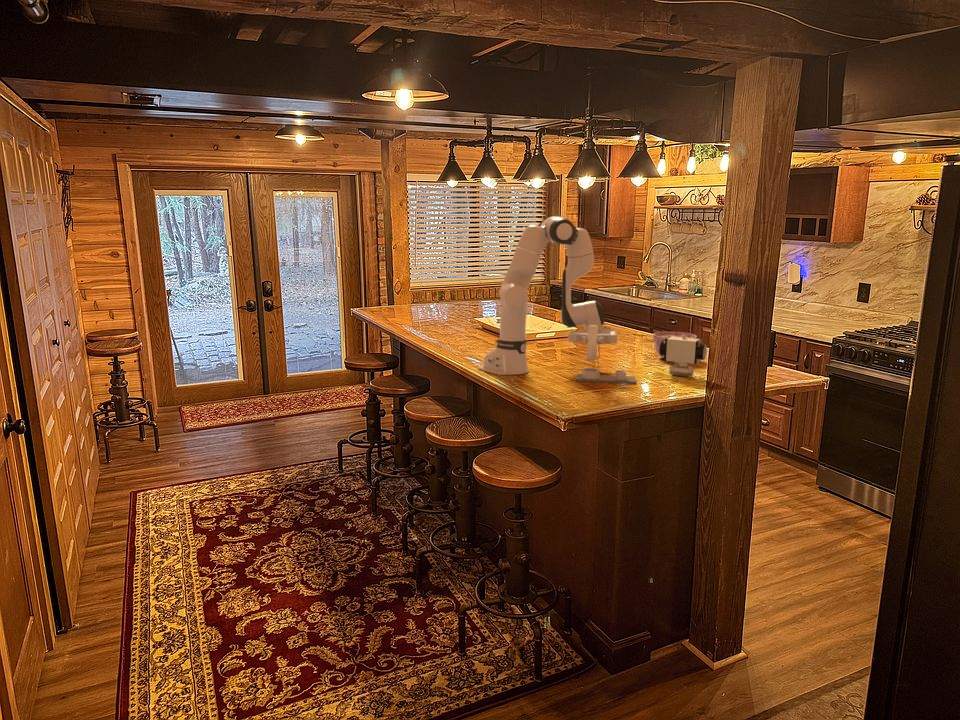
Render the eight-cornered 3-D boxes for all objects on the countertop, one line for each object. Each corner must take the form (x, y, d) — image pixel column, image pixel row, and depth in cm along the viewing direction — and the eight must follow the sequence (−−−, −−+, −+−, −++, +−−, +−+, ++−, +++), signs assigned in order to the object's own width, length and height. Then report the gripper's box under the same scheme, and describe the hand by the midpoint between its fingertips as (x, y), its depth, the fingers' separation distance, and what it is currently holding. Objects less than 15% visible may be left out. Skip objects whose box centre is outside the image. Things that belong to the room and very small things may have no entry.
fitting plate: (575, 381, 271) (576, 371, 270) (576, 376, 280) (577, 367, 279) (635, 384, 267) (636, 374, 266) (634, 378, 276) (635, 369, 275)
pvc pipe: (585, 359, 273) (586, 326, 270) (589, 358, 276) (591, 324, 273) (593, 360, 270) (594, 327, 267) (598, 359, 273) (599, 325, 270)
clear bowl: (643, 358, 316) (644, 334, 313) (664, 352, 329) (666, 330, 327) (682, 365, 302) (683, 340, 299) (702, 358, 316) (704, 335, 313)
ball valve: (705, 376, 281) (708, 335, 277) (700, 380, 274) (704, 338, 270) (663, 371, 290) (665, 331, 286) (657, 375, 283) (660, 334, 279)
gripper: (568, 326, 285) (567, 332, 272) (617, 328, 281) (617, 333, 268) (568, 341, 286) (566, 347, 273) (616, 342, 282) (617, 349, 269)
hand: (592, 340), depth 270 cm, fingers closed on pvc pipe, 4 cm apart
